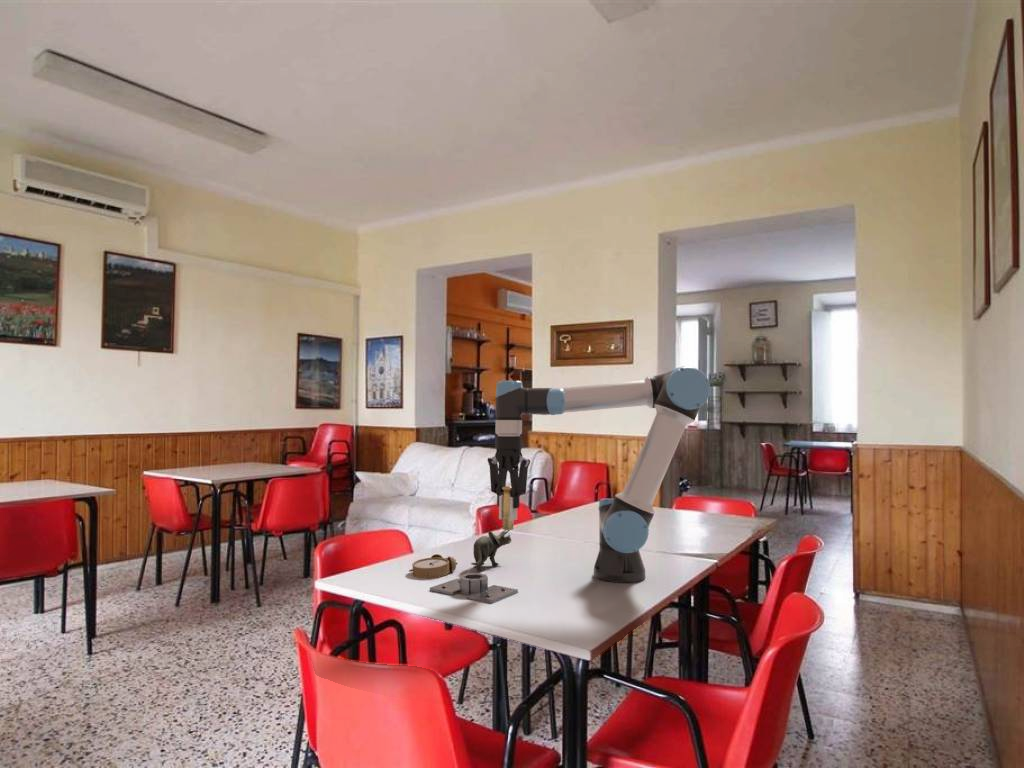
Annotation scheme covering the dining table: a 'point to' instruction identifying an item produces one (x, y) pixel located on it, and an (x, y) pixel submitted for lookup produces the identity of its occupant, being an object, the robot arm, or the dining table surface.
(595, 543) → the dining table surface
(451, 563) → the alarm clock
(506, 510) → the pin
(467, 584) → the grey plate with ring
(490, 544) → the dinosaur figurine
